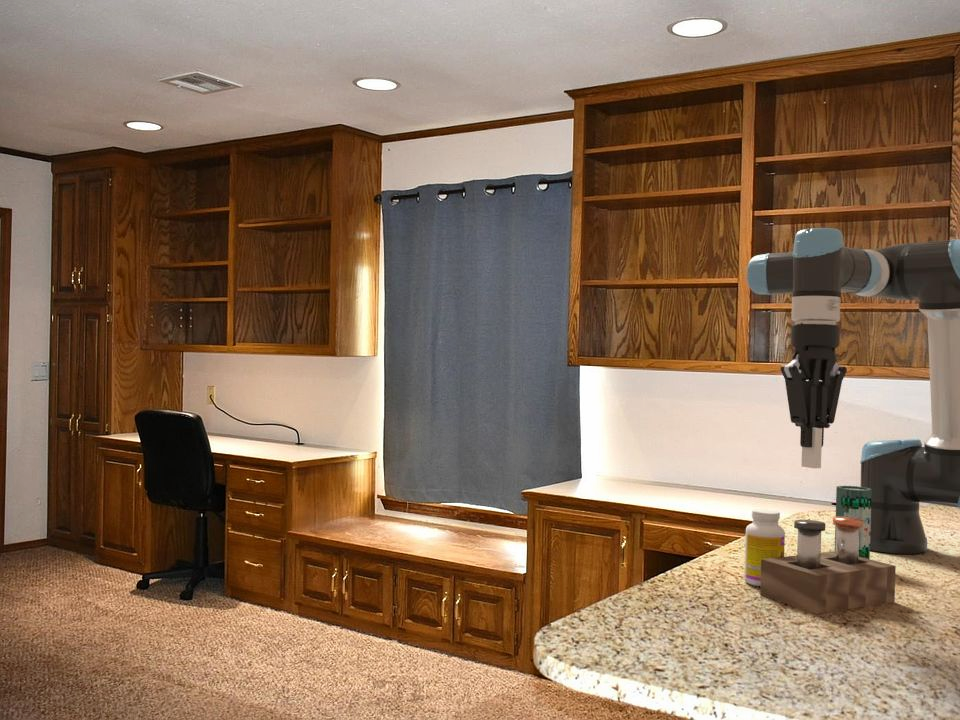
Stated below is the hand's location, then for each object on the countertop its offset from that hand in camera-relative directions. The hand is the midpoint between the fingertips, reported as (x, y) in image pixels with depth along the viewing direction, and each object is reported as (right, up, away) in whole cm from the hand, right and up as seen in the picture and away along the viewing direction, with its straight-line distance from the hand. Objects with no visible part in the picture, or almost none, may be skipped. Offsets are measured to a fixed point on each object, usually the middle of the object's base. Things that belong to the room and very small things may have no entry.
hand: (811, 467), depth 148 cm
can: (+18, -23, +28) cm, 40 cm away
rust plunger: (+8, -18, +4) cm, 20 cm away
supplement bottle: (-4, -22, +11) cm, 25 cm away
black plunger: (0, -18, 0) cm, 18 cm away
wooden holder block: (+3, -22, +2) cm, 23 cm away
